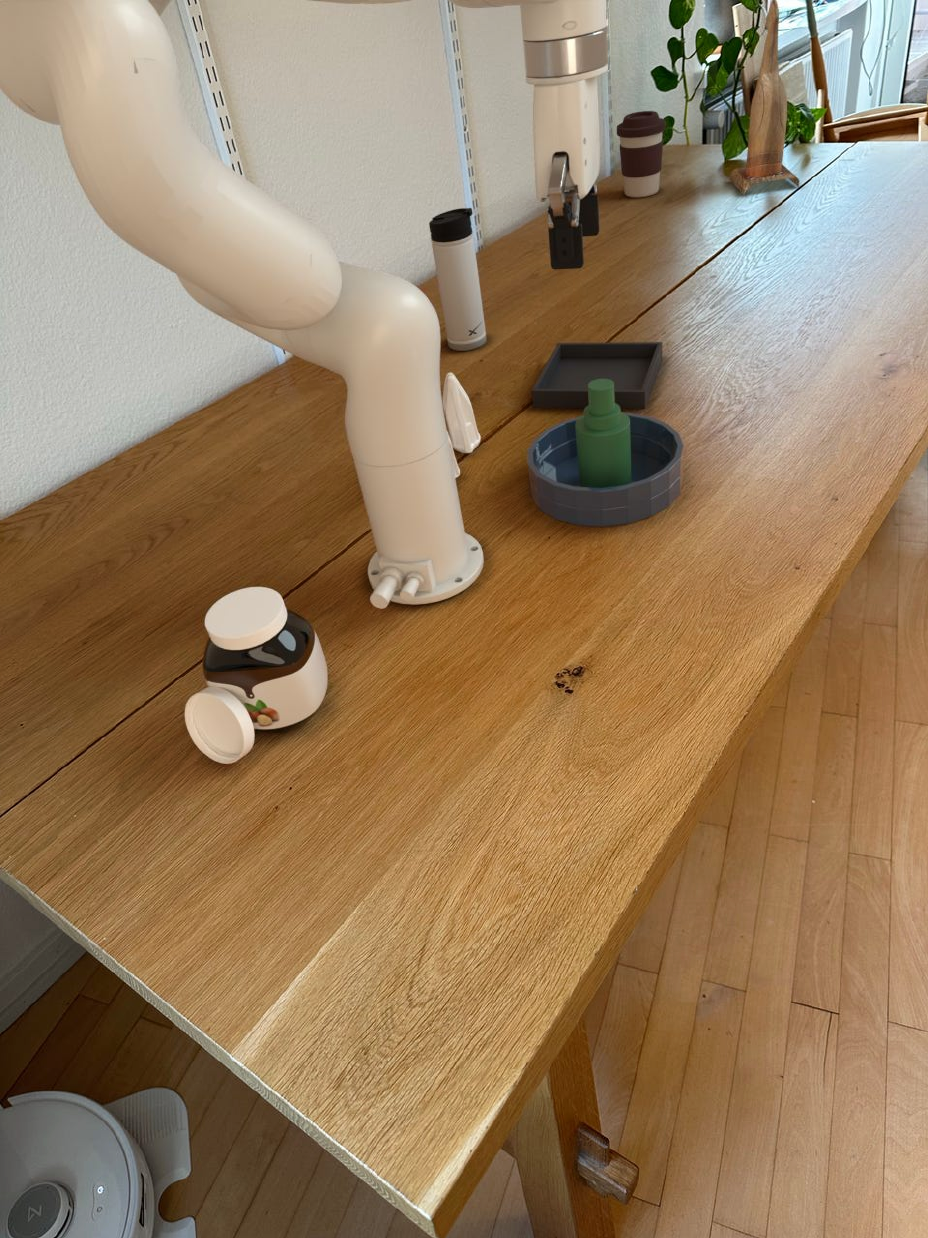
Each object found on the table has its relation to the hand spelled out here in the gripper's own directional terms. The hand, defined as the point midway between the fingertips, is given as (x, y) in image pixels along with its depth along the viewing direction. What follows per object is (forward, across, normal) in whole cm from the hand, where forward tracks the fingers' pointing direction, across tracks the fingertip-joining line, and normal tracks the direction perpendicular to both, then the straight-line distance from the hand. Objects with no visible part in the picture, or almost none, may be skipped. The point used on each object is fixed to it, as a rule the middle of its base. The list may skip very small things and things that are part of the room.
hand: (576, 250), depth 90 cm
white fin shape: (+26, 0, -17) cm, 31 cm away
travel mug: (+25, -36, -25) cm, 51 cm away
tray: (+25, -21, -2) cm, 33 cm away
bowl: (+25, +5, +3) cm, 26 cm away
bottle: (+25, +5, +3) cm, 26 cm away
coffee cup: (+25, -112, -7) cm, 115 cm away
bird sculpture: (+25, -111, +18) cm, 115 cm away
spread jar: (+26, +46, -22) cm, 57 cm away
